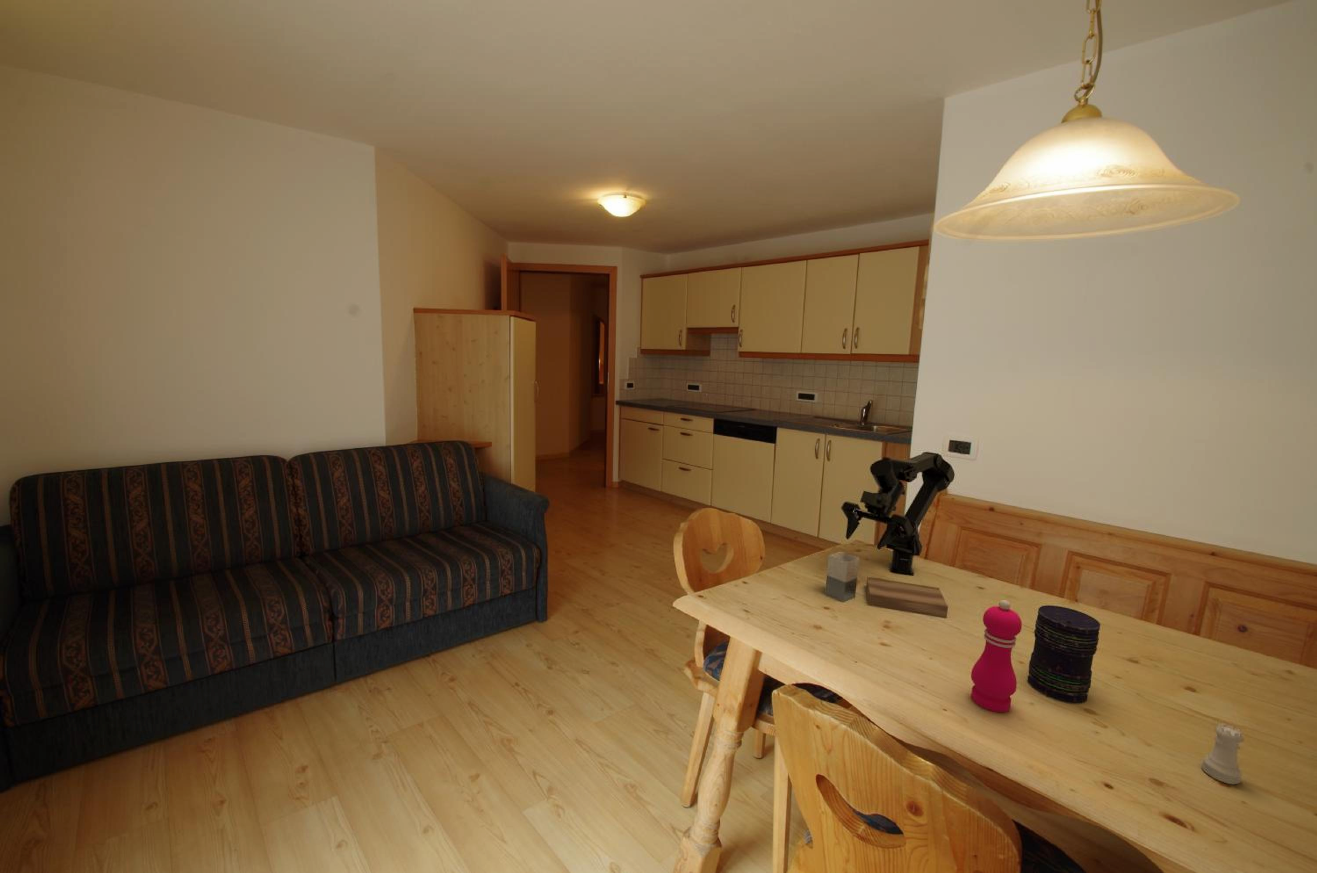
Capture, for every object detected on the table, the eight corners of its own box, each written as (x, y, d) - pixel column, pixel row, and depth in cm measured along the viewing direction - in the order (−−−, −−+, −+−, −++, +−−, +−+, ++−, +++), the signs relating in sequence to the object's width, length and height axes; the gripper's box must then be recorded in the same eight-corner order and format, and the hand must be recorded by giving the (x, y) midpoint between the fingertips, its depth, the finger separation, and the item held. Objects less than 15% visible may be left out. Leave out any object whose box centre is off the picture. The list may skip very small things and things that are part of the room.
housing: (836, 590, 150) (840, 551, 148) (855, 597, 145) (859, 557, 144) (825, 594, 146) (828, 555, 145) (843, 602, 142) (847, 561, 140)
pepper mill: (960, 689, 106) (974, 590, 103) (998, 691, 106) (1013, 593, 103) (981, 713, 99) (996, 608, 96) (1022, 715, 99) (1038, 610, 96)
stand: (866, 587, 152) (867, 577, 152) (937, 598, 147) (938, 587, 147) (868, 605, 141) (870, 594, 140) (946, 618, 136) (948, 606, 135)
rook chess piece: (1209, 780, 85) (1220, 733, 84) (1194, 761, 89) (1203, 716, 88) (1247, 789, 83) (1258, 742, 82) (1229, 769, 88) (1240, 723, 86)
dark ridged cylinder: (1027, 668, 115) (1038, 600, 112) (1086, 686, 109) (1099, 615, 107) (1025, 690, 107) (1037, 618, 104) (1089, 711, 101) (1103, 635, 99)
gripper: (847, 473, 156) (821, 517, 151) (911, 487, 142) (885, 537, 137) (860, 496, 163) (835, 539, 158) (923, 512, 148) (898, 560, 143)
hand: (862, 543), depth 149 cm, fingers open, 9 cm apart
